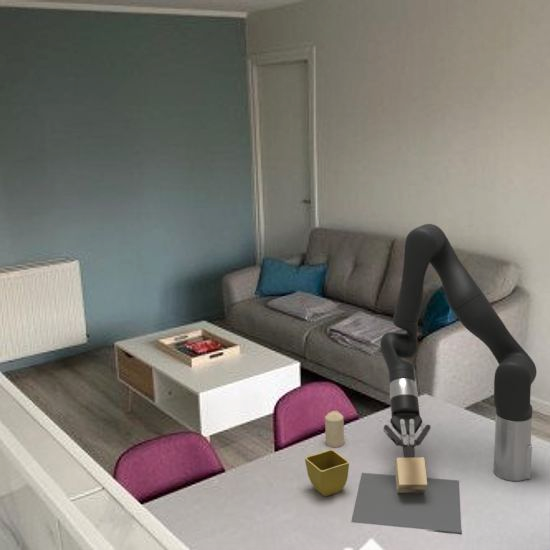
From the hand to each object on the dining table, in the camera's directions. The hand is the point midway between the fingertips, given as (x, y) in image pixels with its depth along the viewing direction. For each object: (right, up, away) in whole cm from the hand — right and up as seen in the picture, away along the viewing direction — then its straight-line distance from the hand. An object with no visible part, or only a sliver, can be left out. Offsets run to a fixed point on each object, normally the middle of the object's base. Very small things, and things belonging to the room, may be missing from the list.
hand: (409, 460), depth 181 cm
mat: (-1, -10, -3) cm, 10 cm away
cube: (0, -6, +2) cm, 6 cm away
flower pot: (-21, -9, +4) cm, 23 cm away
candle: (-17, -3, +30) cm, 34 cm away
